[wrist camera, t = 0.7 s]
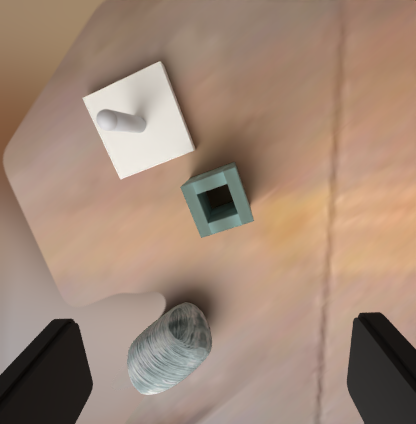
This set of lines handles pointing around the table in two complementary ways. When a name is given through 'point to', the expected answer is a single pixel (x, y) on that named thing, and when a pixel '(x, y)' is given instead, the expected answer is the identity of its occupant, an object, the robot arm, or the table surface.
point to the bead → (222, 215)
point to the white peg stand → (140, 121)
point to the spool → (169, 349)
